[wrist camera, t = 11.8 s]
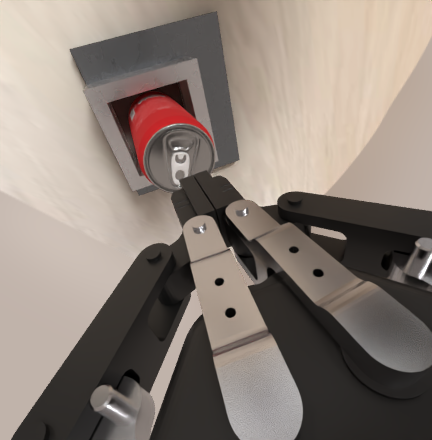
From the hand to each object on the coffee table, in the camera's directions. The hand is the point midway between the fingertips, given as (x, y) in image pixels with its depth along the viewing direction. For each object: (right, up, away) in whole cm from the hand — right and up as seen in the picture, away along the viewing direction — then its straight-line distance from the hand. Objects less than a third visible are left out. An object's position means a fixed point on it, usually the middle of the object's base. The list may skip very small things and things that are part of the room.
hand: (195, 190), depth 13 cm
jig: (-4, +9, +12) cm, 16 cm away
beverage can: (-5, +9, +12) cm, 16 cm away
